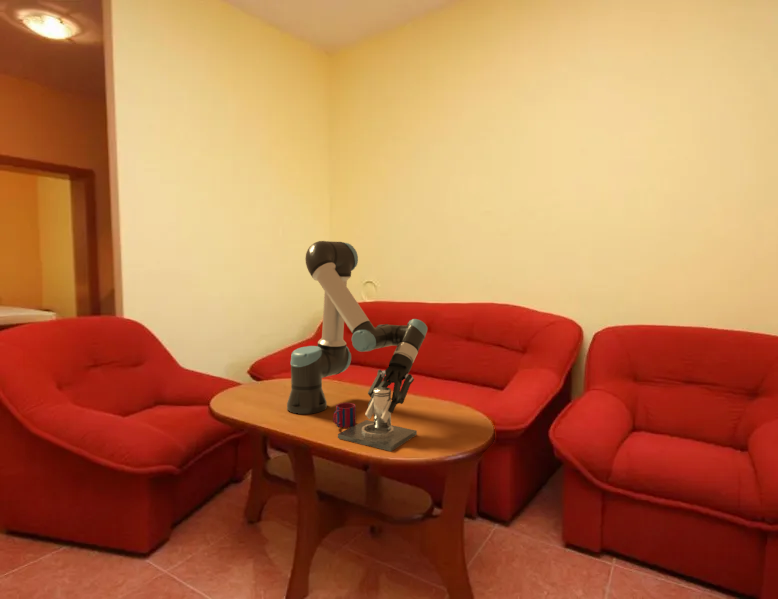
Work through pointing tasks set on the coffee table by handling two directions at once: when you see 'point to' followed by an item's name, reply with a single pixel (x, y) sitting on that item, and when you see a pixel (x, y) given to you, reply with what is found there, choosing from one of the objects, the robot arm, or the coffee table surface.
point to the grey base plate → (377, 435)
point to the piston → (381, 406)
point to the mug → (345, 415)
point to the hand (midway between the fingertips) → (375, 418)
